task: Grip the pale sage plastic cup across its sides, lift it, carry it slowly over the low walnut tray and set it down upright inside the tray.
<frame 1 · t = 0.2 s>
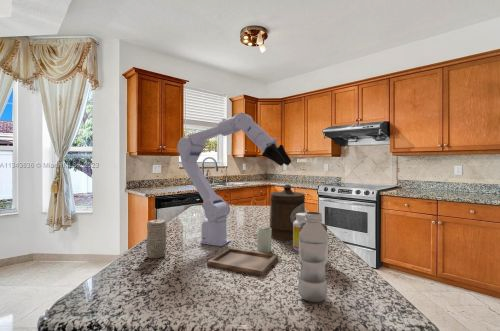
hand: (286, 163, 91), 31 cm above the countertop, tool tilted 45°, fingers open, 7 cm apart
supplement bottle: (302, 250, 96), on the countertop
tray: (243, 262, 83), on the countertop
wooden container: (287, 236, 113), on the countertop
jar: (313, 263, 83), on the countertop
carving: (156, 256, 89), on the countertop
plastic bottle: (312, 299, 61), on the countertop
cup: (264, 250, 94), on the countertop
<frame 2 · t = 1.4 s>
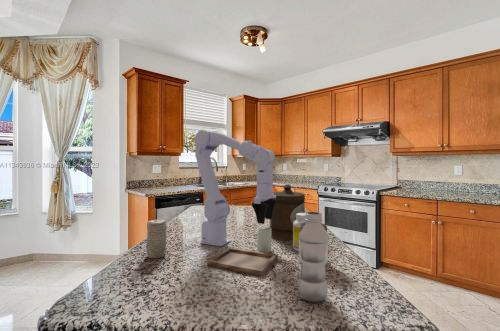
hand: (264, 221, 94), 11 cm above the countertop, tool pointing down, fingers open, 7 cm apart
nothing on the countertop moved.
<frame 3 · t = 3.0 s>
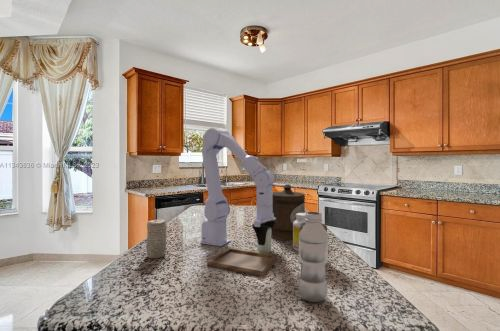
hand: (264, 242, 94), 3 cm above the countertop, tool pointing down, fingers closed on cup, 5 cm apart
cup: (264, 250, 94), on the countertop, touching gripper
everything else where it was.
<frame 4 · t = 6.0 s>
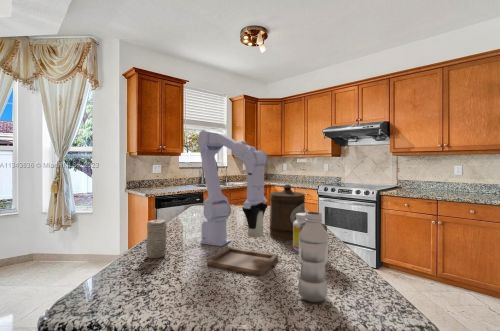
hand: (255, 226, 89), 10 cm above the countertop, tool pointing down, fingers closed on cup, 5 cm apart
cup: (255, 235, 89), point 7 cm above the countertop, touching gripper
everything else where it was.
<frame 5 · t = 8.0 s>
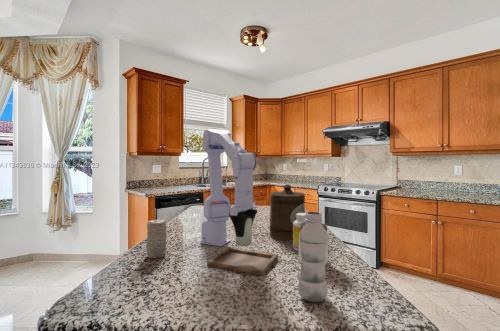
hand: (243, 234, 83), 9 cm above the countertop, tool pointing down, fingers closed on cup, 5 cm apart
cup: (243, 243, 83), point 6 cm above the countertop, touching gripper
everything else where it was.
when the fingers open (4 cm above the countertop, at t = 9.4 s): cup stays where it is, resting on tray.
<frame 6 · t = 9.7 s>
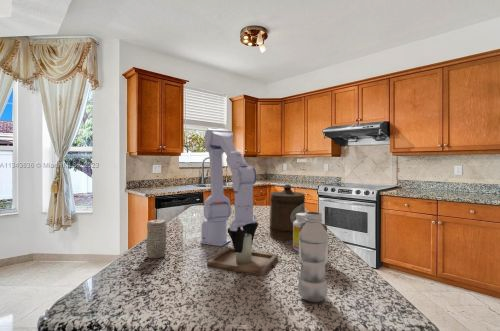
hand: (243, 248, 83), 5 cm above the countertop, tool pointing down, fingers open, 7 cm apart
cup: (243, 260, 83), point 1 cm above the countertop, touching tray
everything else where it was.
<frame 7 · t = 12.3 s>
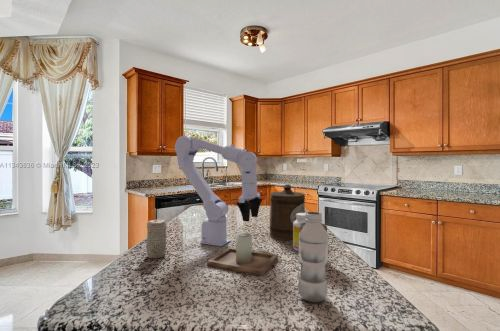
hand: (250, 218, 101), 10 cm above the countertop, tool pointing down, fingers open, 7 cm apart
nothing on the countertop moved.
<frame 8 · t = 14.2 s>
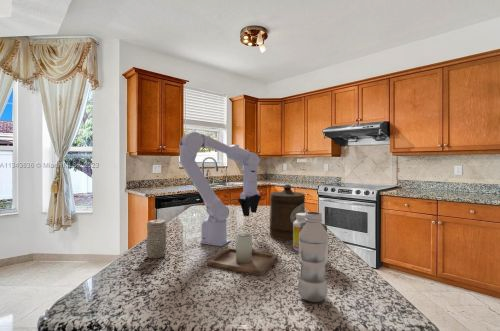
hand: (250, 214, 109), 10 cm above the countertop, tool pointing down, fingers open, 7 cm apart
nothing on the countertop moved.
at the end: cup inside the target area on the tray (0.0 cm from its centre), point 0.6 cm above the tray's base; cup tilted 1°; the gripper is holding nothing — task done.
